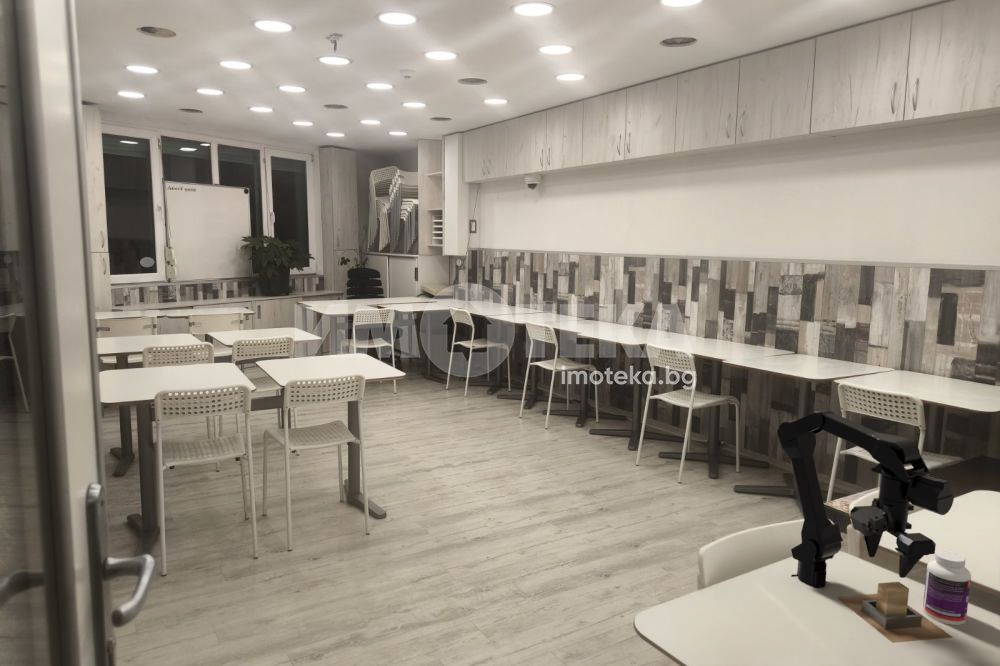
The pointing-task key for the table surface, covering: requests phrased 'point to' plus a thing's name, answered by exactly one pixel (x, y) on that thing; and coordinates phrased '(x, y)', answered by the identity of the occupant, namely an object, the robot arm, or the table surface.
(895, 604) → the tan wooden brick
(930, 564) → the pill bottle
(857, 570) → the table surface
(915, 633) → the board
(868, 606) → the tin
